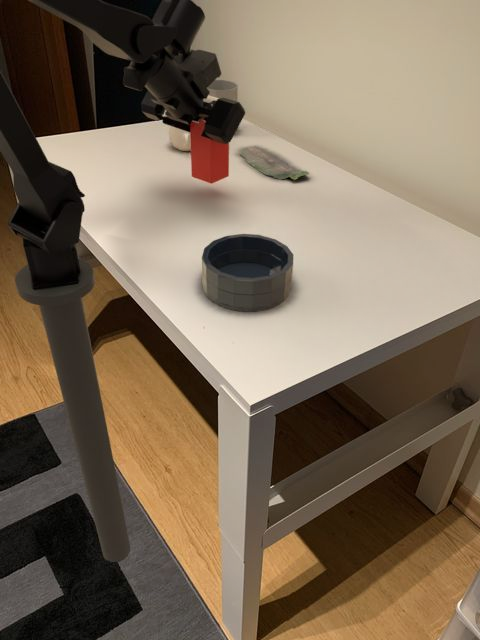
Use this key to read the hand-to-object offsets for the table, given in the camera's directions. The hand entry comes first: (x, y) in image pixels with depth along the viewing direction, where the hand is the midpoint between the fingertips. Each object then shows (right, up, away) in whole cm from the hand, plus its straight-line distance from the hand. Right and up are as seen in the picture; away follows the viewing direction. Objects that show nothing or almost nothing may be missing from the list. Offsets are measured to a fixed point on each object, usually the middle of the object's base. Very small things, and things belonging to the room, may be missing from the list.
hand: (215, 138), depth 97 cm
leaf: (+10, +1, +18) cm, 21 cm away
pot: (+6, -28, -17) cm, 34 cm away
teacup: (-8, +6, +22) cm, 25 cm away
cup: (-2, +14, +32) cm, 35 cm away
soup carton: (-1, -6, +3) cm, 7 cm away
